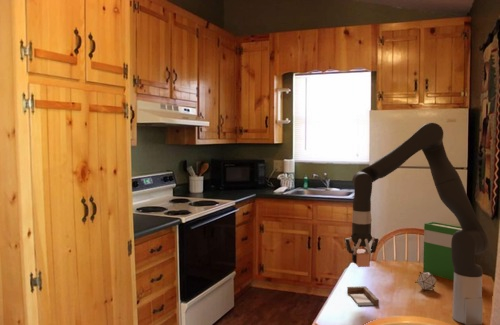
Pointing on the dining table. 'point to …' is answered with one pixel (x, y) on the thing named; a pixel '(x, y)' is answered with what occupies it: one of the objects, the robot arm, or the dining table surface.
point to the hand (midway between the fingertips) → (361, 262)
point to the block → (363, 258)
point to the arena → (363, 296)
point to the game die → (426, 281)
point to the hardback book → (439, 249)
